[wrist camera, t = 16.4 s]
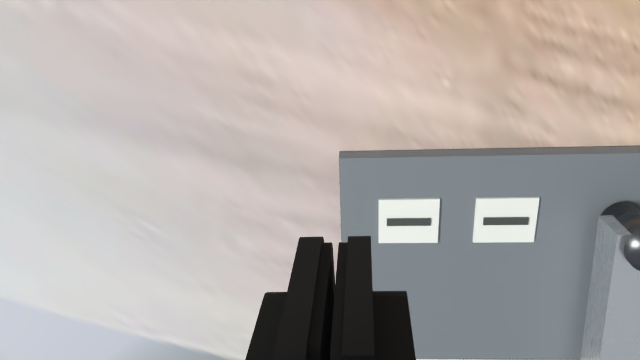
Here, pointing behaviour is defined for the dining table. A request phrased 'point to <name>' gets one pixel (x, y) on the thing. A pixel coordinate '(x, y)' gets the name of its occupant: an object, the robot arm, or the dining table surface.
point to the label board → (487, 241)
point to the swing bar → (614, 287)
